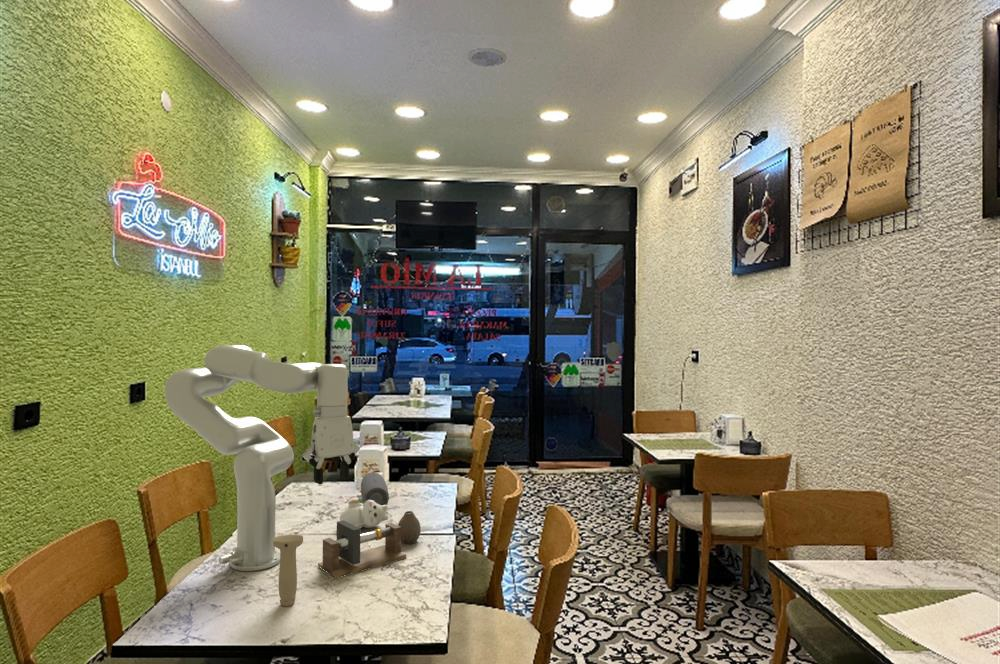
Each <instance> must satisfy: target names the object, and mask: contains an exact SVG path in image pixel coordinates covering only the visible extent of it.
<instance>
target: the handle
mask: <svg viewBox="0 0 1000 664" xmlns="http://www.w3.org/2000/svg"><path fill="white" fill-rule="evenodd" d="M303 543H304V536H303V535H301V534H284V535H279V536H275V538H274V539H273V545H274V546H275V549H279V550H280V552H279V553H280V562H279V570H278V595H279V598H280V599H279V604H280V606H283V607H286V608H287V607H290V606H293V605H294V604H295V602H296V595H297V588H298V587H297V586H298V570H297V569H298V568H297V549H298V547H300V546H302V544H303Z"/></svg>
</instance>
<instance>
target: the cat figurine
mask: <svg viewBox="0 0 1000 664" xmlns="http://www.w3.org/2000/svg"><path fill="white" fill-rule="evenodd" d="M347 504H348V506H347V507H348V508H346V509H344V510H343V511H342V512H341V514H340V516H339V521H342V520H344V521H346V522H348V523H350V524H352V525H354V526H356V527H358V528H360V529H361V528H365V529H371V528H372V529H373V528H374V527H376V526H378V525H379V524H380V523H382V522H384V521H388V520H389V517H388V515H387V514H386V513H385V512H386V511H387V510H388V504H387V505H379V504H377V503H375V502H374V501H373V500H367V501H366V502H365V504H364V503H363V499H362V498H355V499H352V500H350V501H348V503H347Z"/></svg>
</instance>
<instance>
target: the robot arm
mask: <svg viewBox="0 0 1000 664" xmlns="http://www.w3.org/2000/svg"><path fill="white" fill-rule="evenodd" d="M203 362H204V365H205V366H203V367H192V368H191V367H190V368H183V369H180V370H177V371H176V372H173V373H172V374H170V376H168V378H167V379H166V380H165V382H164V383H165V384H164V397H165V401H166V404H167V406H168V408H169V409H170V411H171V412H172V413H173V414H174V415H175V416H176V417H177V418H178V419H179V420H180V421H182V422H183V423H184V424H186V425H188V426H189V427H190V428H191V429H192V430H194V431H195V432H196V433H197V434H198V435H199V436H200V437H201V438H202V439H203V440H204V441H205V442H207V443H208V444H209V445H210V446H211V447H212V448H213V449H215V450H216V452H219V453H220V454H221V455H225V456H231V455H235V454H236V456H235V459H234V461H233V472H234V477H235V483H236V490H237V491H236V494H237V495H236V496H237V498H236V499H237V500H236V501H237V502H236V505H237V510H236V511H237V512H236V513H237V515H236V516H237V521H236V524H237V525H236V526H237V527H236V530H237V531H236V547H234V548H233V549H232V551H231V552H230V553H229V554H227V555H226V554H225V555H223V556H219V557H218V564H219V565H220V566H221V565H225V564H227V563H228V564H229V565H230V567H231V568H232V569H233V570H236V571H241V572H255V571H261V570H262V571H263V570H266V569H269V568H272V567H274V566H276V565H278V564H280V552H278V551H277V550H276V547H275V546H274V545H273V539H274V538H275V537H276V507H277V506H276V504H277V503H276V501H277V500H276V499H277V498H276V496H277V495H276V490H275V485H274V484H273V481H272V477H273V476H275V475H277V474H280V473H282V472H285V471H286V470H288V469H289V468H290V467H291V466H292V464H293V463H294V457H295V456H294V454H295V453H294V451H293V448H292V446H291V445H290V443H289V442H288V441H287V440H286V439H285V438H284V437H283V436H282V435H280V434H279V433H278V432H277V431H275V430H274V428H272V427H271V426H270V425H268V424H267V423H266V422H265V421H263V420H262V419H260V418H258V417H256V416H251V415H248V416H247V415H246V416H240V417H233V416H231V415H229V414H228V413H226V412H225V411H224V410H223V409H222V408H221V407H220V406H218V405H217V404H215V403H212V402H210V401H209V400H206V399H205V398H210V397H215V396H219V395H221V394H223V393H225V392H226V391H228V390H229V389H230V388H232V387H233V386H234V385H236V384H237V383H238V382H240V381H241V382H242V381H243V382H247V383H253V384H255V385H256V386H258V387H259V388H261V389H265V390H270V391H273V392H280V393H284V394H291V395H294V394H299V393H305V392H311V391H317V393H316V394H317V396H316V402H317V403H316V408H313V409H312V410H311V411H312V415H316V417H315V418H314V420H313V425H312V431H311V439H310V445H309V446H308V447H307V448H306V449H305V450H304V451H303V452H302V455H301V457H302V458H304V460H305V461H306V462H307V463H308V465H310V466H311V467H312V468H313V481H314V482H315V483H316V484H318V485H323V484H324V469H323V468H322V465H323V463H324V460H325V459H329V458H337V457H339V458H340V460H341V462H340V463H339V478H340V479H342V480H345V481H348V480H349V475H350V464H351V463H352V460H353V459H354V458H355V456H356V455H357V454H358V452H359V451H360V448H361V447H360V446H359V445H358V444H357V443H356V442H354V430H353V429H354V428H353V424H352V419H351V416H349V415H348V377H349V375H348V367H347V366H346V365H345V364H342V363H325V364H324V363H321V362H313V361H311V362H309V361H308V362H296V363H287V362H280V361H275V360H270V357H269V355H268V354H267V353H265V352H262V351H258V350H253V349H252V348H251V347H249V346H247V345H244V344H223V345H216V346H215V347H212V348H210V349H209V350H208V351H207V352H206V354H205V357H204V361H203ZM311 455H312V456H314V458H313V457H312V456H311Z"/></svg>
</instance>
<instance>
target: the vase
mask: <svg viewBox="0 0 1000 664" xmlns="http://www.w3.org/2000/svg"><path fill="white" fill-rule="evenodd" d="M397 525H398V526H400V527H401V544H405V543H406V545H407V544H408V545H409V544H410V543H412V544H415V543H416V542H417V541H418V540H419V538H420V536H421V523H420V520H419V519H418V518H417V516H416V515H415V513H414V511H412V510H406V511H404V513H403V516H402V517H401V518H400V520H399V521H398V524H397ZM414 542H415V543H414ZM410 545H411V544H410Z"/></svg>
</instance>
